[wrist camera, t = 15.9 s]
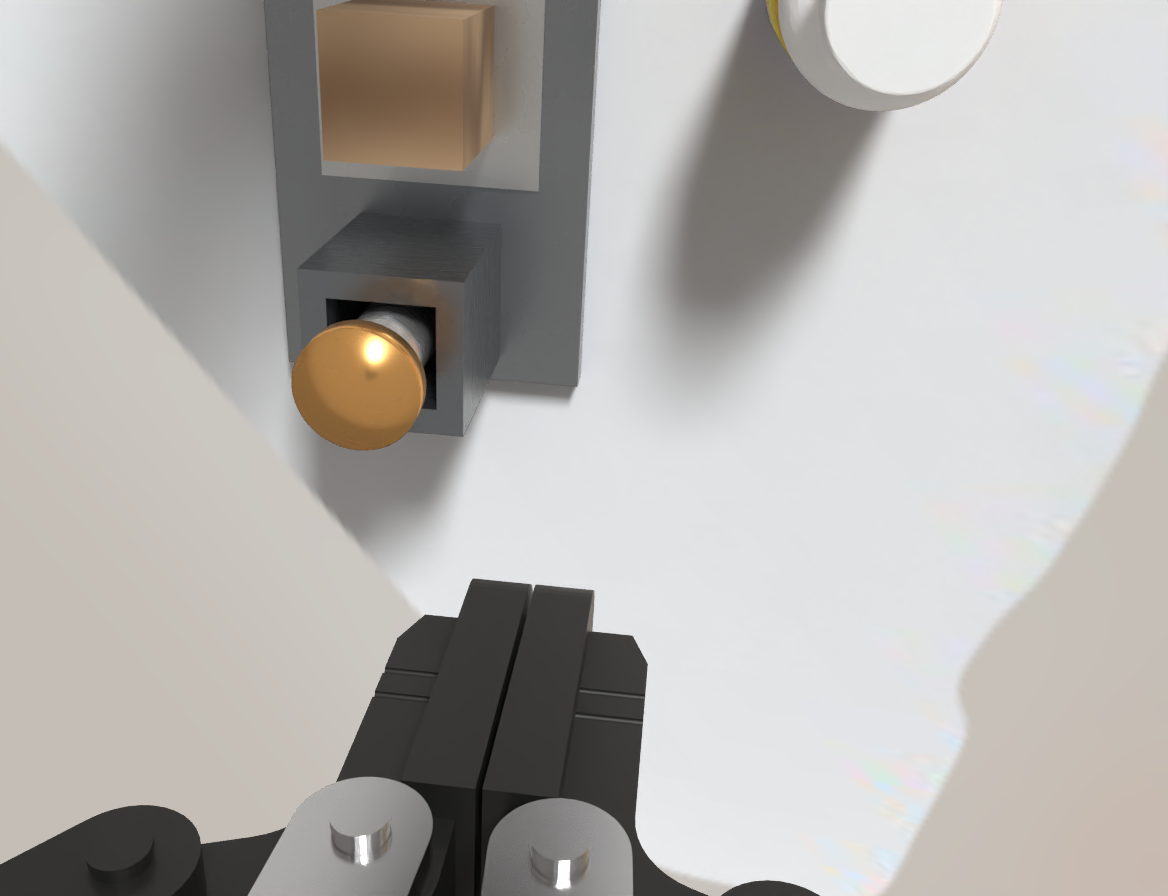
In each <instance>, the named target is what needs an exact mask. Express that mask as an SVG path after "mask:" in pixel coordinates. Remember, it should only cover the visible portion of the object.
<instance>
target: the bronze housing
mask: <svg viewBox="0 0 1168 896" xmlns="http://www.w3.org/2000/svg"><path fill="white" fill-rule="evenodd" d="M494 15H495V5H484V4H469V3H454V2H439V1H424V0H351V1H347V2H343V3H340V4H336V5H332V6H328V7H325V8H321V9H317V10H316V19H317V39H318V59H319V79H320V99H321V119H322V139H323V160H324V161H336V162H349V163H362V164H375V165H388V166H401V167H414V168H427V169H440V170H453V171H463V170H464V169H465V168H466V167H467V166H468V165H469V164H470V163H471V162H472V161H473V160H474V158H475V157H476V156H477V155H478V154H479V153H480V152H481V151H482V150H483V149H484V148H485V147H486V146H487V144H488V143H489V142H490V141H491V140H492V135H493V75H494Z"/></svg>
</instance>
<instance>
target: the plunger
mask: <svg viewBox="0 0 1168 896" xmlns="http://www.w3.org/2000/svg"><path fill="white" fill-rule="evenodd" d="M435 348H436V307H425V306H414V305H402V304H390V303H378V302H371V304H370V305H369V306H368V307H367V308H366V309H365V311H364V312H363V313H362V314H361V315H360V316H359V318H358V319H357V320H346V321H341V322H337V323H335V324H332V325H330V326H328V327H326V328H325V329H323V330H322V331H320V332H319V333H318V334H317V335H316V336H315V337H314V338H313V339H312V340H311V341H310V342H309V343H308V345H307V346H306V347H305V348H304V349H303V350H302V351H301V353H300V354H299V356H298V358H297V360H296V362H295V365H294V368H293V372H292V392H293V397H294V400H295V403H296V405H297V408H298V410H299V412H300V413H301V415H302V417H303V418H304V420H305V421H306V422H307V424H308V425H309V426H310V427H311V428H312V429H313V430H314V431H315V432H317V433H318V434H319V435H320V436H322V437H323V438H325V439H326V440H328V441H330V442H332V443H334V444H336V445H339V446H341V447H345V448H348V449H354V450H375V449H380V448H383V447H386V446H389V445H391V444H393V443H394V442H396V441H398V440H399V439H400V438H402V437H403V436H404V435H405V434H406V433H407V432H408V430H409V429H410V428H411V426H412V425H413V423H414V421H415V420H416V418H417V416H418V414H419V412H420V411H421V409H422V407H423V404H424V401H425V396H426V376H425V372H424V369H423V368H424V366H425V364H426V363H427V361H428V359H429V358H430V356H431V355H432V353H433V351H434V350H435Z"/></svg>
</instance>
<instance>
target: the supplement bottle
mask: <svg viewBox="0 0 1168 896" xmlns="http://www.w3.org/2000/svg"><path fill="white" fill-rule="evenodd" d="M1002 2H1003V0H766V6H767V11H768V14H769V18H770V21H771V24H772V26H773V29H774V31H775V33H776V35H777V37H778V39H779V40H780V42H781V44H782V45H783V47H784V49H785V50H786V52H787V53H788V55H789V56H790V58H791V60H792V61H793V63H794V64H795V66H796V67H797V69H798V70H799V71H800V73H801V74H802V75H803V76H804V77H805V79H806V80H807V81H808V82H809V83H810V84H811V85H812V86H814V87H815V88H816V89H817V90H818V91H819V92H821V93H822V94H824V95H825V96H827V97H828V98H830V99H832V100H834V101H836V102H838V103H840V104H843V105H845V106H848V107H851V108H856V109H860V110H867V111H891V110H899V109H904V108H908V107H912V106H915V105H918V104H920V103H923V102H925V101H928V100H930V99H932V98H934V97H935V96H937V95H939V94H941V93H942V92H944V91H946V90H947V89H948V88H950V87H951V86H952V85H954V84H955V83H956V82H957V81H958V80H959V79H961V78H962V77H963V76H964V75H965V74H966V73H967V72H968V71H969V70H970V68H971V67H972V66H973V65H974V63H975V62H976V61H977V60H978V58H979V57H980V56H981V54H982V52H983V51H984V49H985V48H986V46H987V44H988V42H989V40H990V38H991V36H992V34H993V32H994V30H995V27H996V24H997V21H998V18H999V15H1000V11H1001V6H1002Z"/></svg>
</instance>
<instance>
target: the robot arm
mask: <svg viewBox="0 0 1168 896" xmlns="http://www.w3.org/2000/svg"><path fill="white" fill-rule="evenodd" d="M593 612H594V590H585V589H575V588H565V587H555V586H545V585H535V588H534V591H533V590H532V585H531V584H523V583H513V582H503V581H493V580H483V579H472V581H471V583H470V585H469V588H468V591H467V594H466V596H465V599H464V602H463V605H462V608H461V611H460V613H459V616H458V618H453V617H443V616H433V615H424V616H423V617H422V618H421V619H420V620H418V621H417V622H416V623H415V624H414V625H412V626H411V627H410V628H409V629H408V630H407V631H405V632H404V633H403V634H402V635H401V636H400V637H399V638H397V641H396V643H395V646H394V648H393V650H392V653H391V655H390V657H389V659H388V662H387V664H386V667H385V673H383V674H382V676H381V678H380V681H379V683H378V685H377V688H376V690H375V696H374V697H372V699H371V702H370V704H369V707H368V709H367V711H366V713H365V716H364V718H363V720H362V723H361V725H360V728H359V730H358V732H357V735H356V737H355V739H354V742H353V744H352V746H351V749H350V751H349V753H348V756H347V758H346V760H345V763H344V765H343V767H342V770H341V772H340V774H339V777H338V779H337V781H336V783H334V784H331V785H328V786H326V787H324V788H322V789H321V790H319V791H317V792H315V793H314V794H313V795H311V796H310V797H309V798H307V799H306V800H305V801H304V802H303V803H302V804H301V805H300V806H299V808H298V809H297V811H296V812H295V813H294V815H293V816H292V818H291V820H290V822H289V823H288V825H287V827H285V828H283V829H281V830H278V831H275V832H272V833H268V834H264V835H259V836H254V837H249V838H241V839H234V840H227V841H220V842H213V843H206V844H201V842H200V837H199V834H198V831H197V829H196V828H195V826H194V825H193V823H192V822H190V820H189V819H187V818H186V817H185V816H184V815H182V814H180V813H178V812H176V811H174V810H171V809H168V808H165V807H159V806H151V805H138V806H128V807H123V808H118V809H114V810H110V811H107V812H104V813H101V814H99V815H97V816H94V817H92V818H90V819H88V820H86V821H84V822H82V823H80V824H78V825H76V826H74V827H72V828H70V829H68V830H66V831H65V832H63V833H61V834H59V835H57V836H55V837H53V838H51V839H49V840H47V841H45V842H43V843H41V844H39V845H37V846H35V847H34V848H32V849H30V850H28V851H26V852H24V853H22V854H20V855H18V856H16V857H14V858H12V859H10V860H8V861H6V862H4V863H2V864H0V896H708V895H705V894H703V893H700V892H698V891H696V890H693V889H691V888H689V887H687V886H685V885H682V884H680V883H678V882H677V881H675V880H674V879H672V878H670V877H669V876H667V875H666V874H665V873H664V872H662V871H661V870H660V869H659V868H658V867H657V866H656V865H655V864H654V863H653V862H652V861H651V860H650V859H649V858H648V856H647V855H646V853H645V851H644V850H643V848H642V847H641V844H640V842H639V840H638V837H637V833H636V828H635V812H636V800H637V788H638V776H639V763H640V751H641V739H642V727H643V715H644V702H645V690H646V678H647V666H648V664H647V662H646V660H645V658H644V656H643V654H642V653H641V651H640V649H639V647H638V645H637V643H636V641H635V640H634V638H633V636H630V635H620V634H610V633H601V632H592V627H593ZM722 896H820V895H818V894H816V893H814V892H812V891H810V890H808V889H806V888H803V887H800V886H797V885H794V884H790V883H786V882H781V881H769V880H766V881H754V882H749V883H745V884H741V885H739V886H736V887H734V888H732V889H730V890H729V891H727V892H726V893H724V894H723V895H722Z"/></svg>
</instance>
